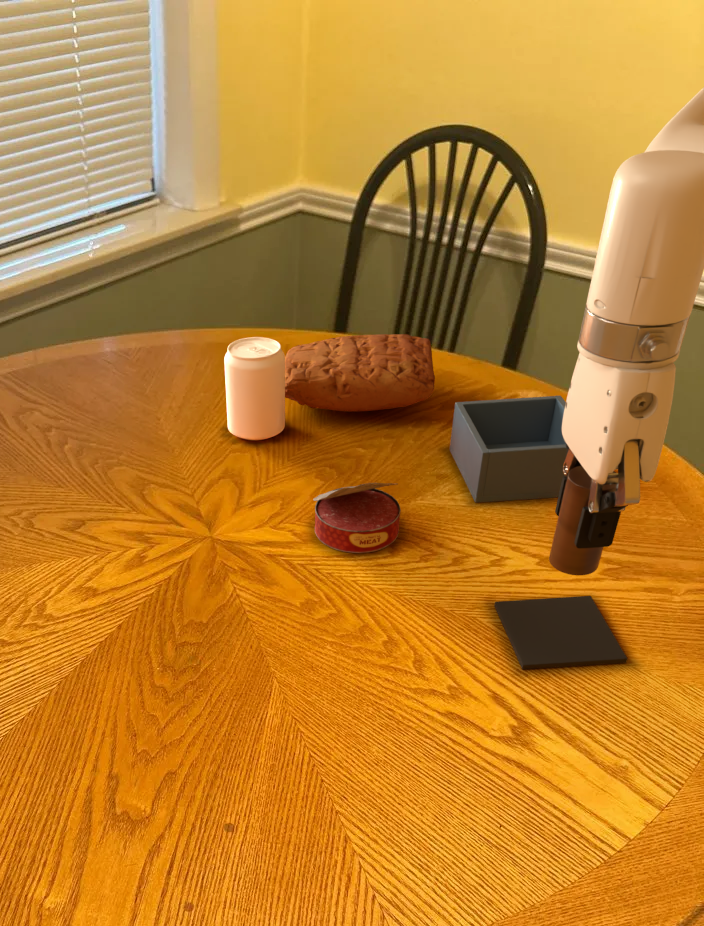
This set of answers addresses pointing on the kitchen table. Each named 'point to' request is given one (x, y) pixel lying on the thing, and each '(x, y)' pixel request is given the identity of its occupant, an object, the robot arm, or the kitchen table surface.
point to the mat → (559, 632)
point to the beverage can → (255, 388)
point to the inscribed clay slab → (360, 372)
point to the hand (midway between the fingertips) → (582, 528)
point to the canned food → (357, 518)
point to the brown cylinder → (575, 527)
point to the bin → (510, 447)
